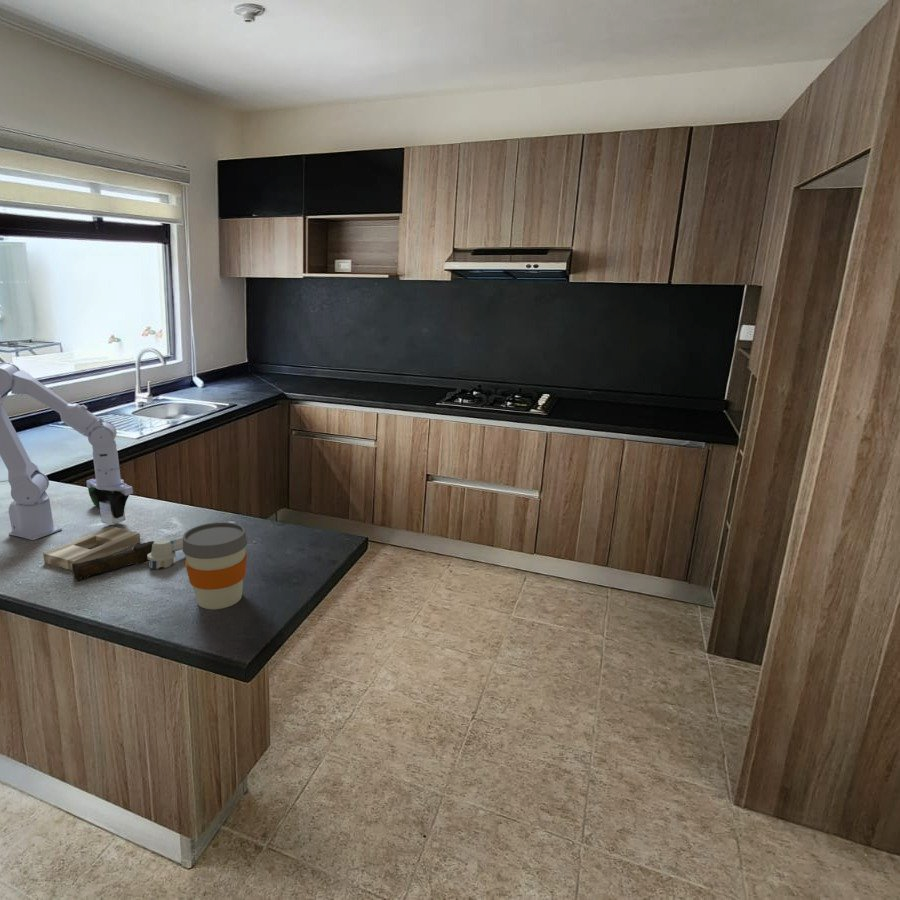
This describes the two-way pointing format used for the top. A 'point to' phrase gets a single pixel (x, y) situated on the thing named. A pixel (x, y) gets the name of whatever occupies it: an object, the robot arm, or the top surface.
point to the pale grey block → (109, 513)
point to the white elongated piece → (165, 552)
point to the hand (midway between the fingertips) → (112, 515)
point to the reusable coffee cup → (216, 563)
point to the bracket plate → (78, 549)
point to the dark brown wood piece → (113, 561)
